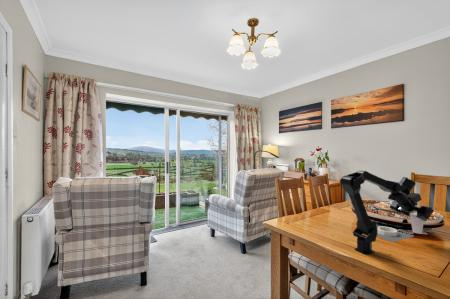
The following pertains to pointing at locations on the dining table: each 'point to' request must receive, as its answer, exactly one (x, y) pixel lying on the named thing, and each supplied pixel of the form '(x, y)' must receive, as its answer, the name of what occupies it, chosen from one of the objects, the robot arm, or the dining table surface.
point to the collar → (387, 231)
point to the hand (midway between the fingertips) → (419, 219)
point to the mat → (393, 239)
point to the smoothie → (416, 223)
